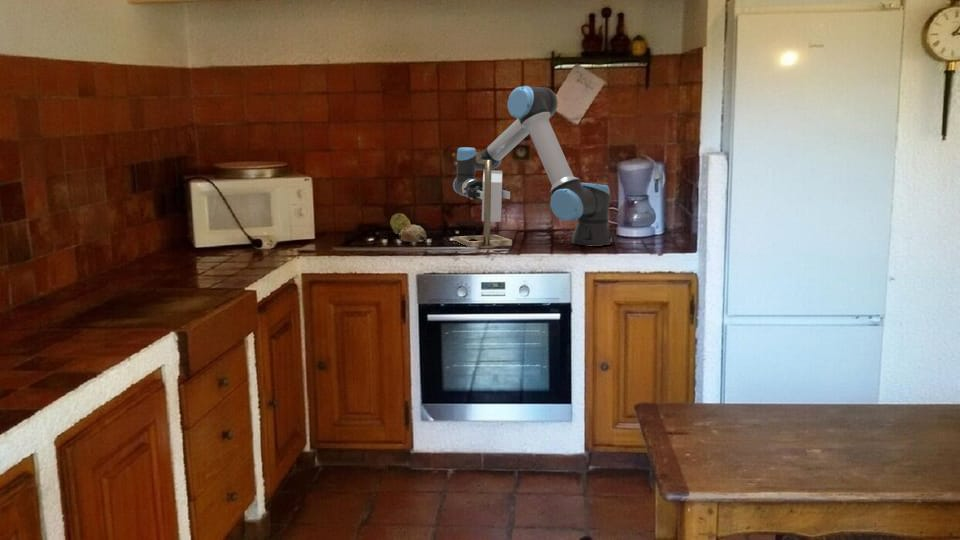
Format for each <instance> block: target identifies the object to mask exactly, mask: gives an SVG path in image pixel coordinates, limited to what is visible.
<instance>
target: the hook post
mask: <svg viewBox="0 0 960 540" xmlns="http://www.w3.org/2000/svg"><path fill="white" fill-rule="evenodd" d="M476 160H477V161H476V162H477V163H479V164H485V188H484V221H483V235H484V238H483V245H479V247H478V248H480V249H494V248H495V246H494V245H492V244H490V235H491V222H490V216H491V169H492V160H482V159H481V154H476ZM492 170H493V169H492Z"/></svg>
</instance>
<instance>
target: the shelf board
mask: <svg viewBox="0 0 960 540" xmlns="http://www.w3.org/2000/svg"><path fill="white" fill-rule="evenodd" d="M452 237H453V240H455V241H457V242H459V243H461V244H463V245H466V246H477V247H476V248H480V247H479V245H483V238H484V234H483V235H464V236H452ZM471 239H475V240H477V241H469V240H471ZM453 240H452V241H453ZM490 244H492V245H494V247H506V246H512V245H513V239H509V238H507V237H504V236H501V235H498V234H490Z"/></svg>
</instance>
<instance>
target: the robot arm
mask: <svg viewBox="0 0 960 540" xmlns="http://www.w3.org/2000/svg"><path fill="white" fill-rule="evenodd" d="M557 109H558V98H557V95H556V93H555V92H553V90H552V89H551V88H548V87H545V86H529V85H523V86H518V87H516V88H514V89H513V90H512V91H511V92H510V94H509V95H508V100H507V111H508V113H509V114H510V116H511V117H512V118H515V119H516V120H514V121H513V122H512V123H511V125H509V126H508V127H507V128H506V129H505V130H503V132H502V133H501V134H499V136H497V138H496V139H495V140H493V141H492V142H491V143H490V144H489V145H488V146H487V147H486V148H485V149H484V150H483V151H477V150H476V148H475V147H470V146H469V147H466V146H465V147H458V149H457V152H456V175H455V176H456V177H455V179H454V181H453V182H452V189H453V191H455V193H456V194H458V195H460V196H462V197H466V198H469V199H470V200H475V201H477V200H482V199H483V200H484V192H483V180H478V179H476V171H483V170H485V164H479V163H477V162H476V161H477V160H476V154H481V159H482V160H492V169H491V170H495V168H496V169H498V168H499V167H500V166H501V163H502V159H503V158H504V157H506V156H507V155H508V154H509V153H510V152H511V151H512V150H513V149H514V148H516V147H517V145H519V144H520V142H522V141H523V140H524V139H525V138H526V137H528V136H529V137H530V138H531V141H532V143H533V145H534V147H535V150H536V152H537V154H538V157H539V159H540V161H541V163H542V165H543V168H544V171H545V172H546V174H547V177H548V179H549V182H550V184H551V189H550V191H549V192H550V194H551V196H550V203H549V204H550V209H551V211H552V213H553V215H554V216H555V217H557V218H558V219H560V220H562V221H568V222H569V221H571V222H572V221H577V224H576V227H575V230H574V232H573V235H572V238H571V240H572V241H571V244H573V243H574V244H573V245H575V244H579V245H601V244H607V243H610V242H612V243H613V237H612V233H611V230H610V229H611V228H610V226H609V214H610V213H609V212H610V197H611V194H610V193H611V192H610V187H609V186H608V185H607V184H598V183H589V182H581V179H580V178H579V177H575V176H574V174H573V172H572V170H571V168H570V166H569V162H568V161H567V159H566V156H565V154H564V152H563V150H562V147H561V144H560V143H559V141H558V138H557V136H556V133H555V131H554V129H553V127H552V124H551V122H550V119H551V118H552V117H553V116H554V115H555V113H556V111H557ZM499 165H500V166H499ZM498 166H499V167H498ZM497 167H498V168H497ZM502 198H503V199H507V200H511V191H510V189H506V187H502ZM579 245H578V246H579Z"/></svg>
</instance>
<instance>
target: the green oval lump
mask: <svg viewBox="0 0 960 540" xmlns="http://www.w3.org/2000/svg"><path fill="white" fill-rule="evenodd" d="M389 224H390V228H391V229H392V231H393V233H394V234H395V235H397V234H399V233H400V232H401V230H402V229H403V228H404V227H406V226H408V225H412V224H411V220H410V219H409V218H408V217H407V216H406V215H405V214H404V213H400V212H398V213H395V214H393V215H392V216H391V218H390V220H389Z"/></svg>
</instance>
